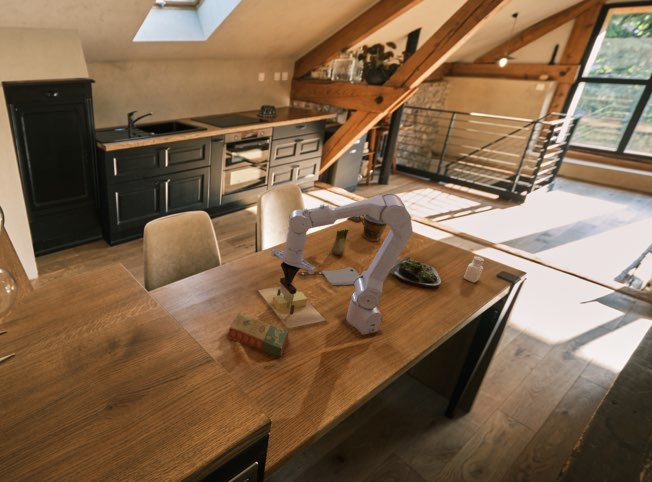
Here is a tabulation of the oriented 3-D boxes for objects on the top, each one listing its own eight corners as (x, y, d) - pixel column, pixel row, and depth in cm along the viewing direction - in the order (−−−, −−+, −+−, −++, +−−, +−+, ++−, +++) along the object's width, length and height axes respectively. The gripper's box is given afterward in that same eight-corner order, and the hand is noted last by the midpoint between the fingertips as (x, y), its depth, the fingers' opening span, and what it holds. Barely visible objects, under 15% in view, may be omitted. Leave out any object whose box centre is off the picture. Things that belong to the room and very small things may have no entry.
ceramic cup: (387, 239, 176) (392, 220, 172) (374, 245, 171) (380, 225, 167) (362, 228, 186) (366, 209, 182) (349, 232, 181) (353, 213, 177)
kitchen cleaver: (306, 285, 140) (295, 268, 149) (306, 287, 141) (295, 270, 150) (368, 282, 144) (353, 266, 152) (367, 284, 144) (353, 268, 153)
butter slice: (286, 309, 127) (287, 302, 126) (278, 311, 127) (279, 303, 125) (279, 302, 131) (281, 294, 130) (272, 303, 130) (273, 296, 129)
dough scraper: (294, 303, 125) (296, 289, 123) (289, 304, 125) (291, 290, 123) (282, 290, 131) (285, 277, 129) (278, 291, 131) (280, 277, 129)
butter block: (306, 305, 130) (307, 298, 128) (289, 308, 128) (290, 301, 127) (299, 298, 133) (300, 291, 132) (282, 301, 131) (284, 294, 130)
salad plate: (385, 255, 163) (387, 246, 161) (433, 265, 156) (436, 256, 155) (388, 280, 146) (391, 269, 145) (442, 292, 140) (446, 282, 138)
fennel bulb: (342, 251, 165) (347, 226, 160) (346, 257, 161) (352, 232, 156) (328, 250, 165) (333, 226, 161) (332, 256, 161) (337, 231, 156)
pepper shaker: (467, 275, 151) (475, 254, 147) (478, 280, 148) (487, 259, 144) (462, 278, 149) (470, 257, 145) (474, 283, 146) (483, 262, 142)
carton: (237, 322, 123) (238, 311, 121) (287, 341, 116) (289, 330, 114) (227, 338, 116) (229, 327, 114) (280, 359, 109) (282, 348, 107)
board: (325, 322, 123) (328, 311, 122) (287, 330, 120) (289, 319, 118) (291, 286, 141) (293, 276, 139) (257, 292, 137) (258, 282, 135)
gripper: (322, 251, 118) (315, 287, 123) (282, 234, 128) (276, 268, 133) (310, 259, 114) (303, 296, 119) (269, 240, 123) (264, 276, 129)
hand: (288, 282), depth 126 cm, fingers closed
